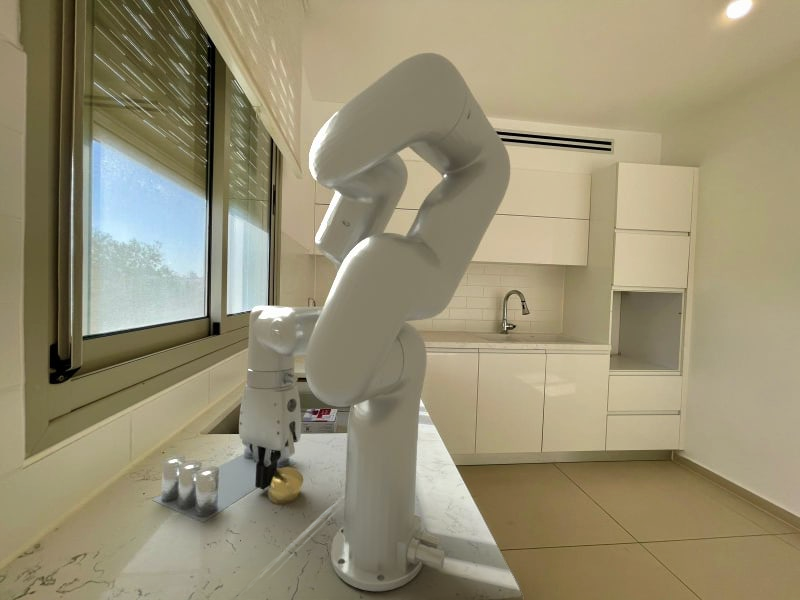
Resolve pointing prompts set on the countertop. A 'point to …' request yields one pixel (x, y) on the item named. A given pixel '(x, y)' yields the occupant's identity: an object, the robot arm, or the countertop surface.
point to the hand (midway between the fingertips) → (266, 484)
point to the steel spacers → (196, 483)
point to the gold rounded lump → (285, 485)
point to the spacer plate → (226, 486)
